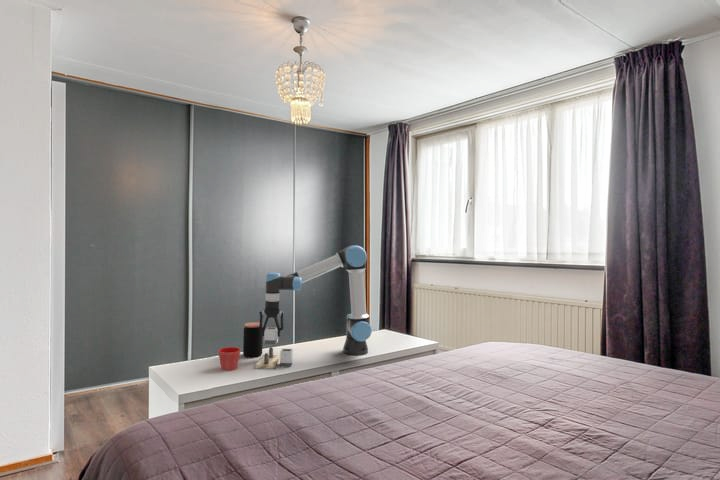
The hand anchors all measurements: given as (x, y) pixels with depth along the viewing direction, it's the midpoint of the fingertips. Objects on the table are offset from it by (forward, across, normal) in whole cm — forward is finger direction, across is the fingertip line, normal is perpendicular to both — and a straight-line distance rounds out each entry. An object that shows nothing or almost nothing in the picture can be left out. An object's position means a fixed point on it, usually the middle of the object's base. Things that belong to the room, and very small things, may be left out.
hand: (271, 342), depth 236 cm
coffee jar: (+10, +12, -8) cm, 17 cm away
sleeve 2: (+10, -10, +9) cm, 17 cm away
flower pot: (+10, +18, +17) cm, 27 cm away
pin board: (+10, 0, +6) cm, 11 cm away
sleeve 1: (0, 0, 0) cm, 0 cm away
